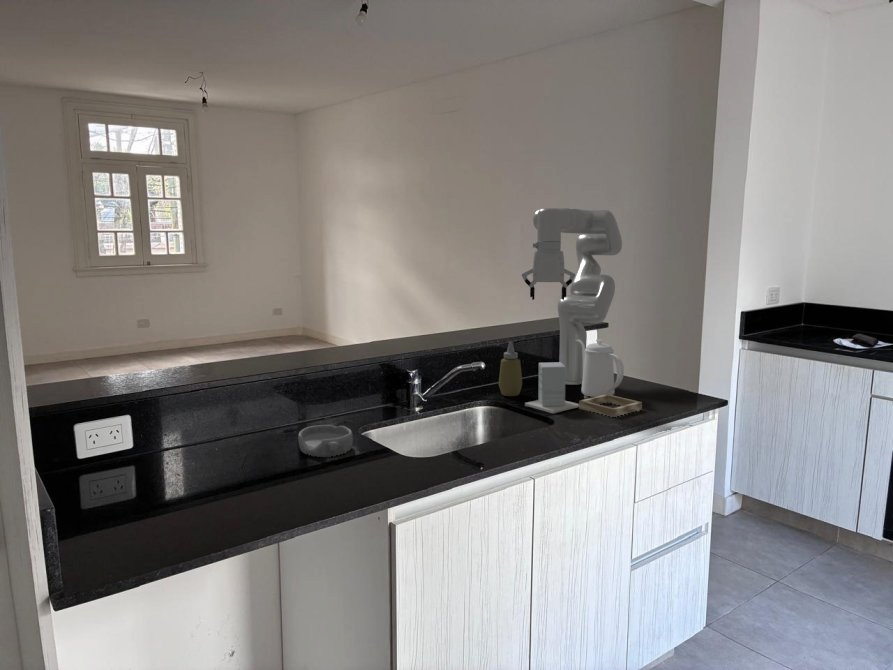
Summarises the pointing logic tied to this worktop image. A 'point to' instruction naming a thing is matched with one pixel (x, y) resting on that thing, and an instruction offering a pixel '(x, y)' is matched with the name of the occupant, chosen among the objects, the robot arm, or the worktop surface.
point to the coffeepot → (600, 369)
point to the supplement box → (551, 384)
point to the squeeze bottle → (510, 373)
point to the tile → (552, 409)
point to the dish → (325, 440)
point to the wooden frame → (624, 408)
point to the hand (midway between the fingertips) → (548, 299)
